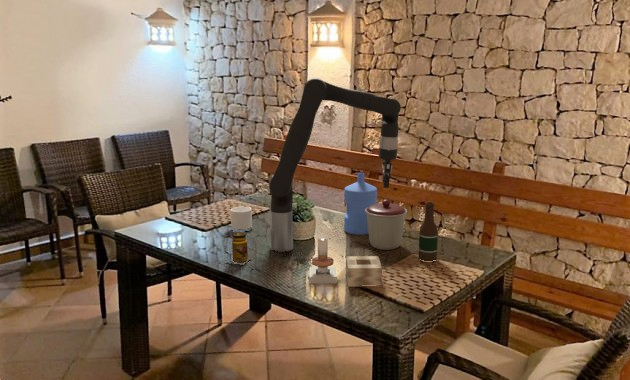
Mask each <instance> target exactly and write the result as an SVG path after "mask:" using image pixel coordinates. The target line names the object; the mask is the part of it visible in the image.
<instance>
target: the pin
mask: <svg viewBox="0 0 630 380" xmlns="http://www.w3.org/2000/svg"><path fill="white" fill-rule="evenodd" d="M328 248H329V247H328V238H325V237H320V238H318V239H317V256H315V257H313V258H312V259H311V264H312V266H313V267H318V275H323V274H328V267H332V266H333V265H334V258H333V257H330V256H329V254H328V253H329V251H328V250H329V249H328Z"/></svg>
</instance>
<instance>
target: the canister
mask: <svg viewBox="0 0 630 380" xmlns="http://www.w3.org/2000/svg"><path fill="white" fill-rule="evenodd" d="M365 212H366V213H367V223H368V233H369V234H368V239H369V244H370V246H371V247H373V248H375V249H378V250H382V251H389V250H396V249H398V248H399V247H400V245H401V244H402V240H403V235H404V227H405V221H406V220H405V219H406V214H407V213H408V209H406V208H405V207H404V206H402V205H399V204H396V203H391V201H390V200H389V199H383V200H382V202H381V203H377V204H374V205H371V206H369V207H367V208H366V209H365Z"/></svg>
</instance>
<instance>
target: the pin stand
mask: <svg viewBox="0 0 630 380" xmlns="http://www.w3.org/2000/svg"><path fill="white" fill-rule="evenodd" d="M308 271H309V276H308V277H309V281H308V283H309V285H310V284H337V283H338V281H337V280H338V273H337V267H336V266H328V274H323V275H318V267H317V266H310V267H309V270H308Z"/></svg>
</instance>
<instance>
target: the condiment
mask: <svg viewBox="0 0 630 380" xmlns="http://www.w3.org/2000/svg"><path fill="white" fill-rule="evenodd" d="M231 241H232V243H231V247H232V258H233V261H234V262H237V263H244V262H246V261H248V259H249V255H248V253H249V252H248V239H247V234H246V232H243V233H242V232H234V233H233V234H232V240H231Z"/></svg>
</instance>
